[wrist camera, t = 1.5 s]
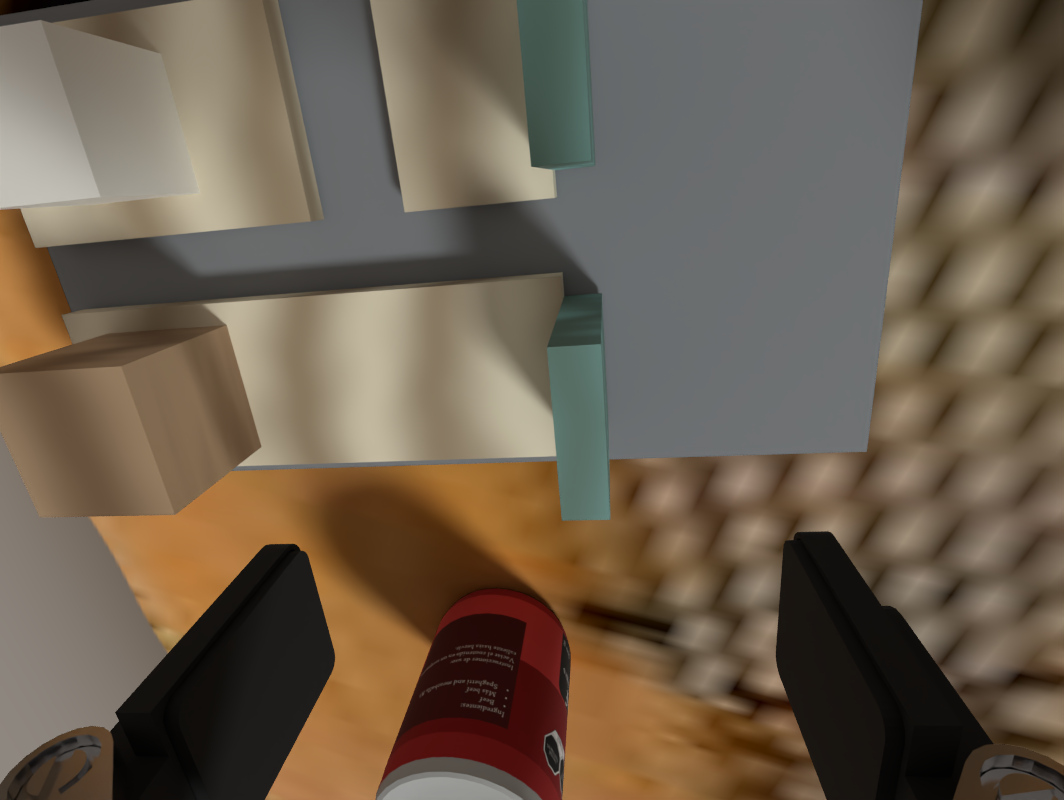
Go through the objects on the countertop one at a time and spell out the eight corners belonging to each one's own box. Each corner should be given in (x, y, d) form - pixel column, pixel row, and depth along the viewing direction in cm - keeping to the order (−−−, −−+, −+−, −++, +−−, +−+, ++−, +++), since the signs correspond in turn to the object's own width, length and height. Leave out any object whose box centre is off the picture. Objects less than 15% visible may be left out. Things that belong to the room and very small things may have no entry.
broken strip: (584, -50, 20) (572, -183, 13) (596, 193, 23) (593, 200, 15) (-16, 45, 23) (-301, -16, 16) (59, 244, 26) (-155, 271, 19)
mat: (923, -125, 19) (940, -140, 18) (857, 441, 27) (866, 451, 26) (-15, 28, 24) (-39, 22, 24) (147, 465, 32) (133, 473, 31)
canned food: (524, 708, 35) (491, 924, 25) (415, 641, 34) (336, 837, 24) (600, 635, 32) (598, 844, 22) (484, 560, 32) (427, 742, 21)
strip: (600, 269, 24) (599, 310, 16) (609, 443, 27) (611, 545, 19) (83, 309, 27) (-110, 358, 20) (139, 459, 30) (-12, 550, 23)
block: (160, 53, 22) (40, 19, 17) (200, 193, 23) (100, 197, 19) (46, 70, 22) (-99, 42, 18) (92, 204, 24) (-29, 211, 20)
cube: (226, 324, 25) (120, 366, 20) (261, 446, 28) (175, 514, 22) (107, 333, 26) (-26, 375, 21) (150, 450, 28) (39, 517, 23)
